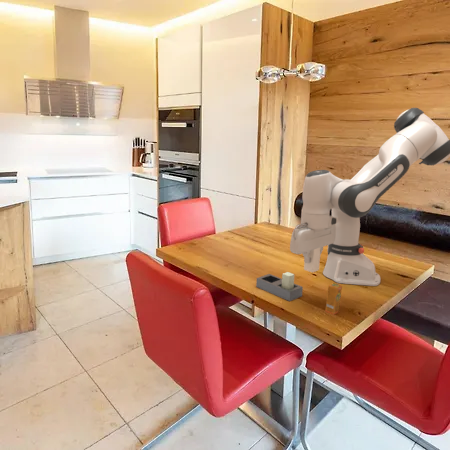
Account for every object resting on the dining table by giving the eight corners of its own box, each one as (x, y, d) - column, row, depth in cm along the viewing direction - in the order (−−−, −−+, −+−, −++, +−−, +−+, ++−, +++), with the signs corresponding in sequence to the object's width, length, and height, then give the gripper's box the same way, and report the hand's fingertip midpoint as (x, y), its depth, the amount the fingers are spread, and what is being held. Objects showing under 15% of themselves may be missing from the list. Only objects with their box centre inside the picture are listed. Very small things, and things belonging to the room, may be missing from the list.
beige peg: (293, 295, 136) (294, 274, 134) (287, 297, 134) (288, 276, 132) (286, 292, 138) (287, 271, 136) (281, 294, 137) (282, 273, 135)
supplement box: (334, 316, 122) (336, 287, 120) (324, 312, 125) (327, 284, 122) (339, 313, 124) (342, 285, 122) (330, 309, 127) (332, 281, 124)
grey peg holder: (301, 297, 136) (302, 286, 135) (289, 302, 131) (290, 292, 130) (268, 283, 147) (269, 273, 146) (256, 288, 143) (256, 278, 142)
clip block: (318, 270, 127) (320, 247, 125) (312, 272, 125) (314, 249, 123) (310, 267, 129) (311, 244, 127) (303, 269, 127) (305, 246, 125)
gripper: (302, 227, 114) (299, 271, 117) (340, 217, 127) (337, 257, 130) (286, 223, 118) (284, 265, 122) (324, 214, 131) (322, 252, 135)
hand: (312, 261), depth 126 cm, fingers closed on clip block, 3 cm apart
